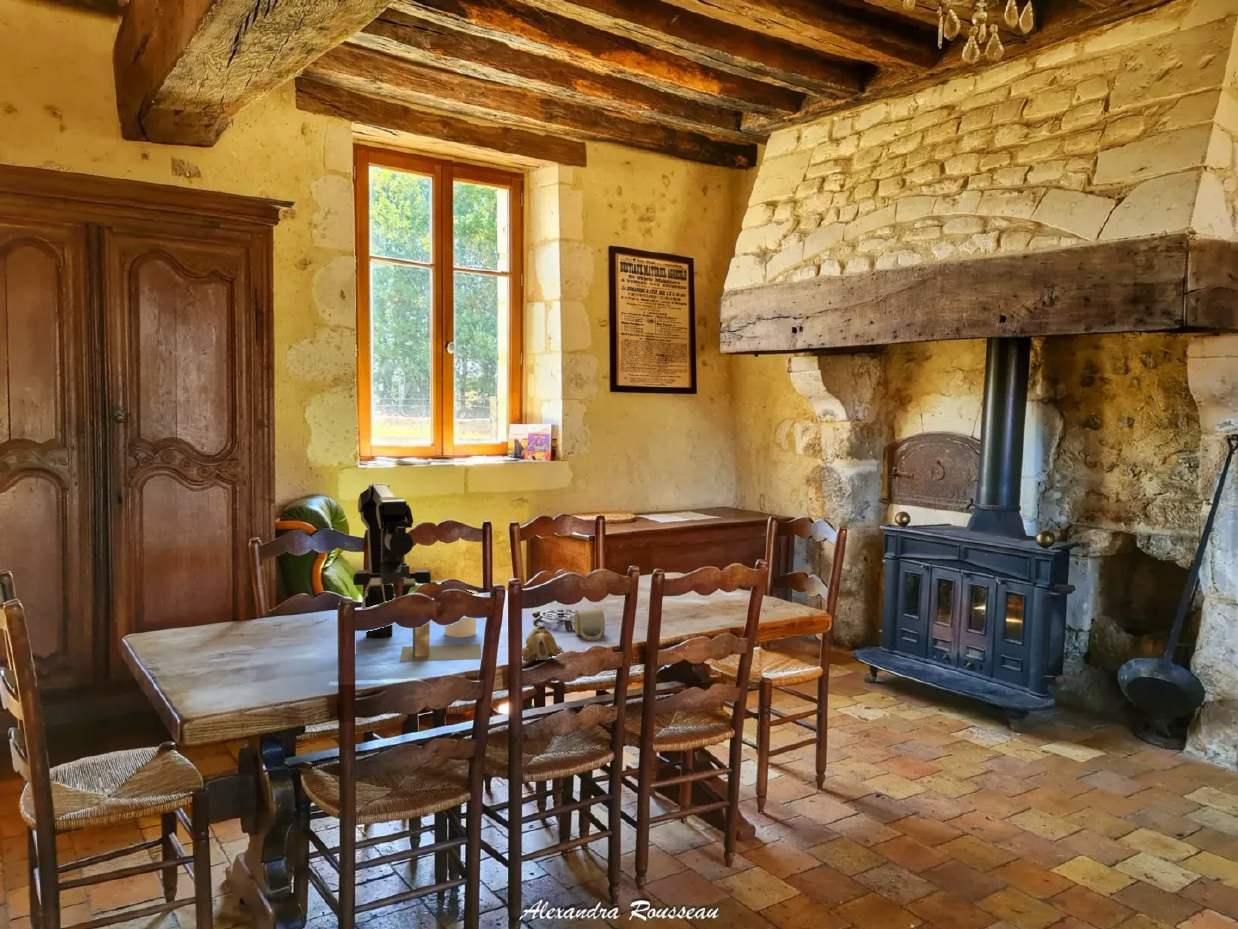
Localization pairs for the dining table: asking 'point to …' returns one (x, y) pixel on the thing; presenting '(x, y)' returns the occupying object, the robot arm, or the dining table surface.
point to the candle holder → (462, 626)
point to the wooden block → (421, 641)
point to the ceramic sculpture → (540, 645)
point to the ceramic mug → (590, 624)
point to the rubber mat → (444, 653)
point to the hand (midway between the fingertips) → (393, 610)
